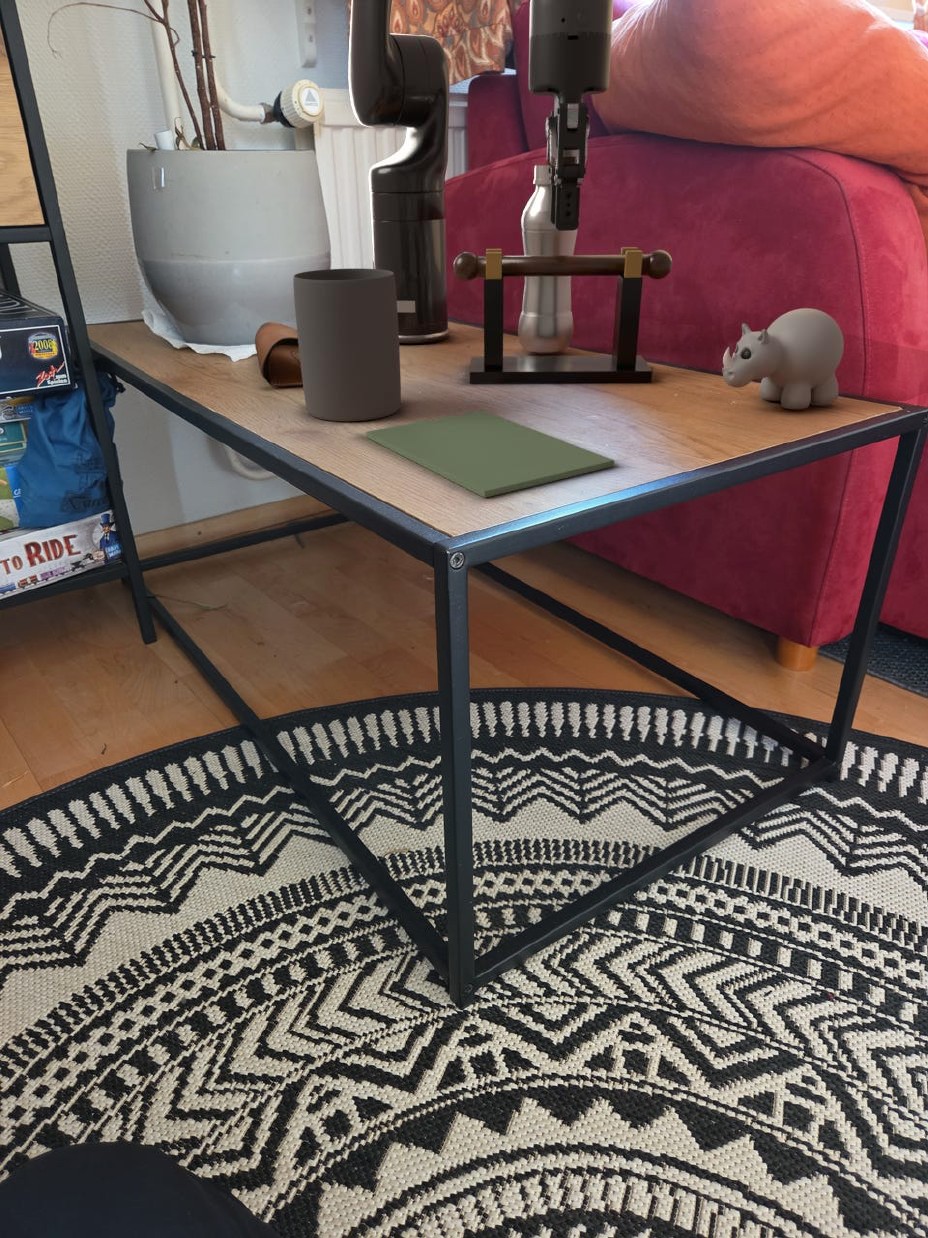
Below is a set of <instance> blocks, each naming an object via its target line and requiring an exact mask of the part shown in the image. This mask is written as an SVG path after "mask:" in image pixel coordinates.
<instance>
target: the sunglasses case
mask: <svg viewBox="0 0 928 1238" xmlns="http://www.w3.org/2000/svg"><path fill="white" fill-rule="evenodd" d="M254 347H255V351H256V356H257V360H258V366H259V371H260V374H261V376H262V378H263V379H264V380H265V381H266V382H267V383H268V384H269V385H270V386H272V387H274V388H278V387H283V388H284V387H285V388H287V387H288V388H289V387H291V388H295V387H296V388H297V387H303V380H302V372H301V363H300V353H299V344H298V334H297V328H296V329H295V328H294V327H292V326H289V325H286V324H283V323H280V322H279V323H278V322H275V321H273V322H272V321H268V322H265V323H263V324H261V325H260V326H259V328H258V329H257V331H256V333H255V336H254Z"/></svg>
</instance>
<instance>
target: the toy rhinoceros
mask: <svg viewBox="0 0 928 1238" xmlns="http://www.w3.org/2000/svg"><path fill="white" fill-rule="evenodd" d="M741 333H742V334H741V335H742V336H741V338H740V339H739V341H737V342H736V345H735V351H734V352H733V353H732V357H731V353H730V346H728V347H727V348H726V350H725V352H724V354H723V357H722V364H723V367H722V369H721V372H722V376H723V380H724V382H725V383H726V385H728V386H730V387H733V388H735V389H736V388H737V389H741V388H744V387H746V386H747V385H749V384H750V383H751V382H752V381H753V380H759V379H761V382H760V384H759V390H758V394H759V397H760V398H761V399H763V400H765V401H771V402H779V401H780V404H781V407H782V408H784V409H787V410H794V411H795V410H796V411H797V410H805V409H807V408H809V406H810V405H812V406H821V407H822V406H824V407H825V406H831V405H833V404H835V403H837V401H838V398H839V394H840V393H839V392H840V391H839V384H838V379H837V377H836V370H837V368H838V367H839V365H840V363H841V361H842V359H843V354H844V348H845V342H844V336H843V332H842V330H841V328H840V326H839V324H838V323H837V321H836V320H835V319H834V318H833V317H832V316H831V315H829V314H828V313H826V312H824V311H823V310H819V309H815V308H808V307H806V308H805V307H803V308H797V309H793V310H790V311H788V312H786V313H784V314H781V315H780V316H779V317H777V319H775V320H774V321H773V322H772V323H771V324H770V325H769V326H768V327H767V329H765V328H763V329H761V330H760V331H752V329H751V328H750V327H749V325H748V324H747V323H742V325H741Z"/></svg>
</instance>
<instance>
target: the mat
mask: <svg viewBox="0 0 928 1238" xmlns="http://www.w3.org/2000/svg"><path fill="white" fill-rule="evenodd" d="M365 436H366V438H367V439H369V440H371V441H373V442H375V443H376V444H379V445H381V446H383V447H385V448H386V449H388V450H390V451H392V452H394V453H396V454H398V455H400V456H402V457H404V458H406V459H407V460H410V461H411V462H414V463H416V464H418V465H419V466H421V467H424V468H425V469H428V470H429V471H431V472H433V473H435V474H437V475H440V476H442V477H443V478H445V479H447V480H449V481H451V482H453V483H455V484H457V485H459V486H461V487H462V488H464V489H466V490H469V491H470V492H473V493H474V494H476V495H478V496H480V497H482V498H483V499H487V498H490V497H493V496H497V495H502V494H506V493H512V492H515V491H519V490H522V489H526V488H531V487H535V486H538V485H543V484H547V483H551V482H556V481H559V480H563V479H569V478H572V477H576V476H580V475H584V474H588V473H592V472H596V471H600V470H604V469H608V468H612V467H615V459H612V458H609V457H607V456H603V455H602V454H599V453H596V452H594V451H591V450H588V449H586V448H582V447H580V446H577V445H575V444H572V443H570V442H567V441H564V440H562V439H559V438H557V437H555V436H551V435H549V434H545V433H543V432H541V431H538V430H536V429H533V428H530V427H528V426H525V425H522V424H520V423H517V422H515V421H511V420H509V419H506V418H504V417H501V416H499V415H497V414H494V413H490V412H488V411H486V410H477V411H471V412H465V413H461V414H454V415H449V416H445V417H438V418H434V419H429V420H423V421H417V422H412V423H406V424H400V425H396V426H390V427H385V428H379V429H375V430H369V431H366V432H365Z"/></svg>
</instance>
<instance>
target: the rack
mask: <svg viewBox="0 0 928 1238" xmlns="http://www.w3.org/2000/svg"><path fill="white" fill-rule="evenodd" d="M485 251H486V253H485V256H486V277H483V355H482V356H480V355H479V356H478V355H477V356H471V359H470V365H469V366H470V367H469V384H629V383H630V384H631V383H635V384H637V383H639V384H640V383H642V384H645V383H647V384H648V383H650V384H651V383H652V382H653V369H652V368H651V367H650V365H649V364H648V363H647V362H646V360H645V359H644V357H643V356H642V355H641V354H637V353H638V345H639V330H640V319H641V318H640V317H641V307H642V306H641V304H642V294H643V293H642V292H643V279H644V278H643V277H642V276H641V268H642V255H643V254H644V253H643V250H639V247H637V246H625V247H624V246H623V247H622V246H621V248H620V251H621V252H620V255H625V269H624V276H616V277H617V278H616V290H615V291H616V292H615V295H616V296H615V306H614V321H613V333H612V334H613V335H612V352H611V355H504V303H505V302H504V296H505V295H504V292H505V291H504V289H505V286H504V285H505V277H502V256H503V249H502V248H486V250H485Z"/></svg>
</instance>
